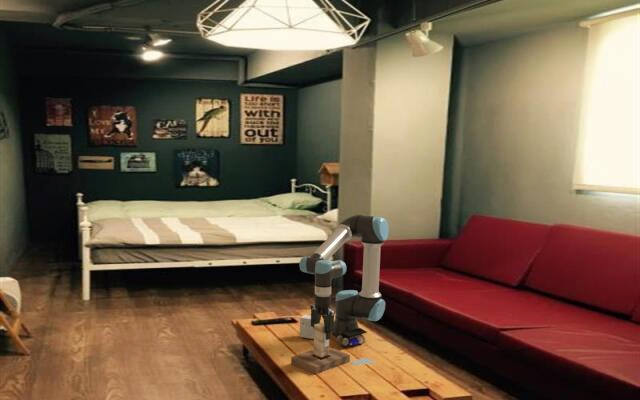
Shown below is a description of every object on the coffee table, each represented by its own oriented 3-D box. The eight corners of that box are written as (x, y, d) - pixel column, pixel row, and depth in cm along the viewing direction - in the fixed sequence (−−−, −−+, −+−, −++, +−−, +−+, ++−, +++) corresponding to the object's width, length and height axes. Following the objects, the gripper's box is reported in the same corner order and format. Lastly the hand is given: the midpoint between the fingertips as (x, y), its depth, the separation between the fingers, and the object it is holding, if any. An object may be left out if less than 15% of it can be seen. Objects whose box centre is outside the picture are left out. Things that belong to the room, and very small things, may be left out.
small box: (317, 335, 302) (318, 316, 301) (313, 339, 297) (314, 319, 296) (303, 333, 305) (304, 314, 304) (299, 337, 300) (300, 317, 299)
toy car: (344, 352, 283) (368, 344, 292) (343, 338, 282) (367, 329, 290) (336, 348, 289) (359, 340, 297) (335, 334, 288) (358, 326, 296)
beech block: (321, 351, 268) (321, 322, 266) (329, 354, 265) (329, 324, 263) (313, 354, 265) (314, 324, 263) (321, 357, 261) (322, 327, 259)
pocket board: (324, 353, 278) (324, 345, 278) (349, 363, 267) (349, 354, 267) (291, 365, 262) (291, 356, 262) (316, 376, 251) (316, 367, 251)
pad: (363, 358, 273) (363, 357, 273) (380, 365, 266) (380, 363, 266) (349, 364, 266) (349, 363, 266) (366, 370, 259) (366, 369, 259)
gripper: (303, 292, 265) (301, 341, 268) (331, 300, 252) (330, 351, 255) (314, 289, 270) (313, 337, 273) (343, 297, 258) (341, 347, 260)
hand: (321, 344), depth 264 cm, fingers closed on beech block, 5 cm apart
